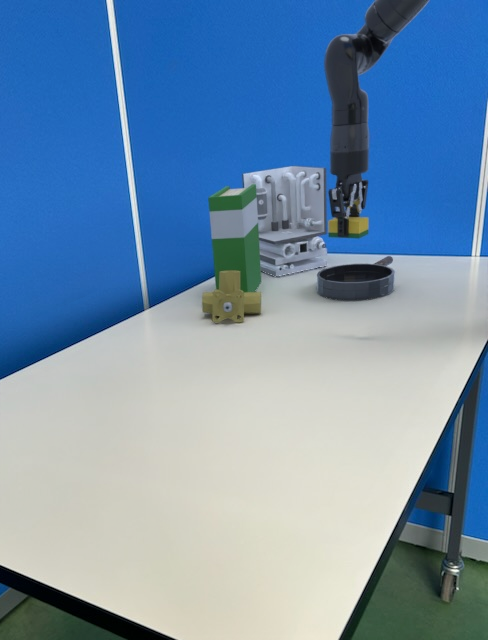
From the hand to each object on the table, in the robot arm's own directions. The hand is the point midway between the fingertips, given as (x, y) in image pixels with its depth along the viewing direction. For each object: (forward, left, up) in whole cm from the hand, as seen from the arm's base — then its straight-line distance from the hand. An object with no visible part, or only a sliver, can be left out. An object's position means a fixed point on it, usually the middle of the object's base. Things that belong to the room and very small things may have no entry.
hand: (348, 234), depth 132 cm
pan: (+2, -8, -15) cm, 17 cm away
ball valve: (+17, +20, -15) cm, 30 cm away
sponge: (0, 0, 0) cm, 0 cm away
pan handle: (+2, -22, -13) cm, 25 cm away
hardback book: (+27, +3, -15) cm, 31 cm away
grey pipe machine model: (+29, -22, -15) cm, 39 cm away
